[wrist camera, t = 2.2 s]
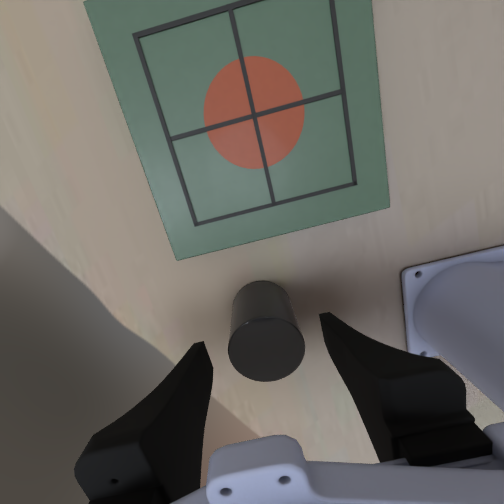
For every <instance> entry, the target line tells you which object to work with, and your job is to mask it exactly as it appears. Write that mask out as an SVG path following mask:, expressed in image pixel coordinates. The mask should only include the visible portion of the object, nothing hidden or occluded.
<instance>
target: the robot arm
mask: <svg viewBox="0 0 504 504" xmlns="http://www.w3.org/2000/svg"><path fill="white" fill-rule="evenodd" d="M417 271H418V274H417V275H416V276H415V273H416V272H417ZM402 288H403V300H404V312H405V324H406V335H407V347H408V352H405V351H402V350H399V349H396V348H393V347H390V346H388V345H385V344H383V343H380V342H378V341H376V340H374V339H371V338H369V337H367V336H365V335H363V334H362V333H360V332H358V331H356V330H355V329H353V328H352V327H350V326H349V325H347V324H346V323H344V322H343V321H341V320H340V319H338V318H337V317H336V316H334V315H333V314H332V313H330V312H326V313H322V314H319V316H320V321H321V326H322V331H323V337H324V342H325V345H326V347H327V350H328V352H329V354H330V357H331V359H332V361H333V363H334V364H335V366H336V368H337V370H338V372H339V374H340V375H341V377H342V379H343V381H344V383H345V384H346V386H347V388H348V390H349V392H350V394H351V396H352V398H353V400H354V402H355V404H356V406H357V409H358V411H359V413H360V416H361V418H362V420H363V423H364V425H365V427H366V430H367V432H368V434H369V437H370V439H371V442H372V444H373V447H374V449H375V451H376V454H377V456H378V459H379V461H380V463H376V464H363V463H343V462H323V461H306V460H305V458H304V455H303V451H302V448H301V446H300V445H299V443H298V442H297V440H296V439H294V438H291V437H289V436H287V435H272V436H267V437H262V438H258V439H253V440H249V441H244V442H239V443H234V444H229V445H226V446H223V447H221V448H219V449H217V450H215V452H214V453H213V454H212V456H211V457H210V461H209V468H208V476H207V483H206V486H204V487H202V488H200V479H201V461H202V448H203V436H204V427H205V421H206V416H207V411H208V405H209V400H210V395H211V390H212V383H213V366H212V363H211V360H210V357H209V355H208V352H207V349H206V346H205V344H204V341H202V342H198V343H194V344H193V345H192V346H191V348H190V349H189V350H188V351H187V353H186V354H185V355H184V356H183V358H182V359H181V360H180V361H179V363H178V364H177V365H176V366H175V367H174V369H173V370H172V371H171V372H170V373H169V374H168V375H167V377H166V378H165V379H164V380H163V381H162V382H161V383H160V384H159V385H158V386H157V387H156V388H155V389H154V390H153V391H152V392H151V393H150V394H149V395H148V396H146V398H144V399H143V400H142V401H141V402H139V403H138V404H137V405H136V406H135V407H134V408H132V409H131V410H130V411H128V412H127V413H126V414H125V415H123V416H122V417H120V418H119V419H117V420H116V421H115V422H113V423H111V424H110V425H108V426H107V427H105V428H104V429H102V430H100V431H99V432H97V433H96V434H94V435H93V436H92V438H91V439H90V441H89V442H88V444H87V446H86V447H85V449H84V451H83V452H82V454H81V456H80V457H79V459H78V461H77V462H76V465H75V468H74V472H75V477H76V479H77V481H78V483H79V485H80V486H81V488H82V489H83V491H84V492H85V494H86V495H87V497H88V498H89V500H90V502H89V504H504V422H501V423H496V424H491V425H489V426H486V427H485V428H484V429H483V431H482V430H481V429H480V428H479V427H478V426H477V425H476V424H475V423H474V422H475V419H474V417H473V416H472V414H471V413H470V412H469V411H468V410H467V409H466V387H465V383H464V382H463V380H462V378H460V377H459V376H458V375H457V374H456V373H455V372H454V371H453V370H452V369H451V368H450V367H449V366H447V365H446V364H445V363H443V362H442V361H441V360H440V359H436V358H431V357H434V356H438V355H441V356H443V357H444V358H445V359H446V360H447V361H448V362H449V363H450V364H451V365H453V366H454V367H455V368H456V369H457V370H458V371H459V372H460V373H461V374H462V375H464V376H465V377H466V378H467V379H468V380H469V381H470V382H471V383H472V384H474V385H475V386H476V387H477V388H478V389H479V390H480V391H481V392H482V393H483V394H485V395H486V396H487V397H488V398H489V399H490V400H491V401H492V402H493V403H495V404H496V405H497V406H498V407H499V408H500V409H501V410H502V411H503V412H504V246H499V247H495V248H491V249H487V250H482V251H478V252H474V253H470V254H466V255H461V256H457V257H453V258H449V259H444V260H440V261H436V262H432V263H427V264H423V265H419V266H415V267H410V268H407V269H405V270H404V271H403V272H402ZM421 352H422V353H421Z"/></svg>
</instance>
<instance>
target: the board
mask: <svg viewBox="0 0 504 504" xmlns="http://www.w3.org/2000/svg"><path fill="white" fill-rule="evenodd" d="M83 3H84V6H85V9H86V11H87V14H88V17H89V20H90V22H91V25H92V28H93V31H94V34H95V36H96V39H97V42H98V45H99V47H100V50H101V53H102V56H103V58H104V61H105V64H106V67H107V70H108V72H109V75H110V78H111V81H112V83H113V86H114V89H115V92H116V94H117V97H118V100H119V103H120V106H121V108H122V111H123V114H124V117H125V119H126V122H127V125H128V128H129V130H130V133H131V136H132V139H133V142H134V144H135V147H136V150H137V153H138V155H139V158H140V161H141V164H142V166H143V169H144V172H145V175H146V178H147V180H148V183H149V186H150V189H151V191H152V194H153V197H154V200H155V202H156V205H157V208H158V211H159V213H160V216H161V219H162V222H163V225H164V227H165V230H166V233H167V236H168V238H169V241H170V244H171V247H172V249H173V252H174V255H175V258H176V260H177V261H178V260H182V259H186V258H190V257H194V256H198V255H202V254H206V253H210V252H214V251H218V250H222V249H226V248H230V247H234V246H238V245H242V244H246V243H250V242H254V241H258V240H262V239H266V238H270V237H274V236H278V235H282V234H286V233H290V232H294V231H298V230H302V229H306V228H310V227H314V226H318V225H322V224H326V223H330V222H334V221H338V220H342V219H346V218H350V217H354V216H358V215H362V214H366V213H370V212H374V211H378V210H382V209H386V208H389V207H390V200H389V189H388V178H387V167H386V156H385V145H384V134H383V123H382V112H381V101H380V90H379V79H378V68H377V57H376V46H375V35H374V24H373V13H372V2H371V0H86V1H84V2H83Z"/></svg>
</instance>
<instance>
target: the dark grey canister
mask: <svg viewBox="0 0 504 504" xmlns="http://www.w3.org/2000/svg"><path fill="white" fill-rule="evenodd" d="M304 353H305V342H304V339H303V336H302V333H301V330H300V327H299V324H298V322H297V319H296V316H295V313H294V310H293V307H292V304H291V302H290V299H289V296H288V294H287V293H286V291H285V290H284V289H283V288H282V287H280V286H279V285H277V284H275V283H272V282H269V281H256V282H252V283H250V284H247V285H246V286H244V287H243V288H242V289H241V290H240V291H239V292H238V293H237V295H236V297H235V299H234V302H233V309H232V318H231V326H230V335H229V343H228V355H229V359H230V361H231V363H232V365H233V366H234V368H235V369H236V370H237V371H238V372H239V373H240V374H242V375H243V376H245V377H247V378H249V379H252V380H255V381H261V382H269V381H276V380H279V379H282V378H284V377H286V376H288V375H290V374H291V373H292V372H294V371H295V370H296V369H297V368H298V366H299V365H300V363H301V362H302V360H303V357H304Z"/></svg>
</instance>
